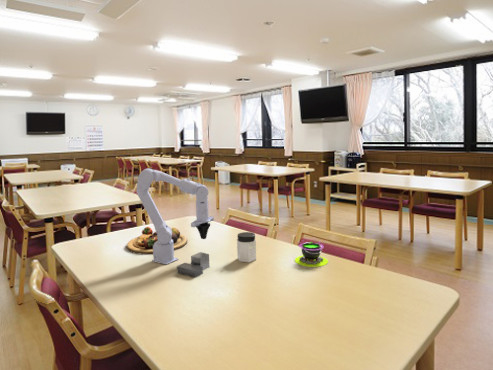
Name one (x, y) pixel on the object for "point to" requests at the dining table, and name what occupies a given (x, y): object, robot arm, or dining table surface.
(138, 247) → the wooden plate with food
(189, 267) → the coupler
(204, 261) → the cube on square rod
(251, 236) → the jar
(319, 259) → the toy cauldron
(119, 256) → the dining table surface
